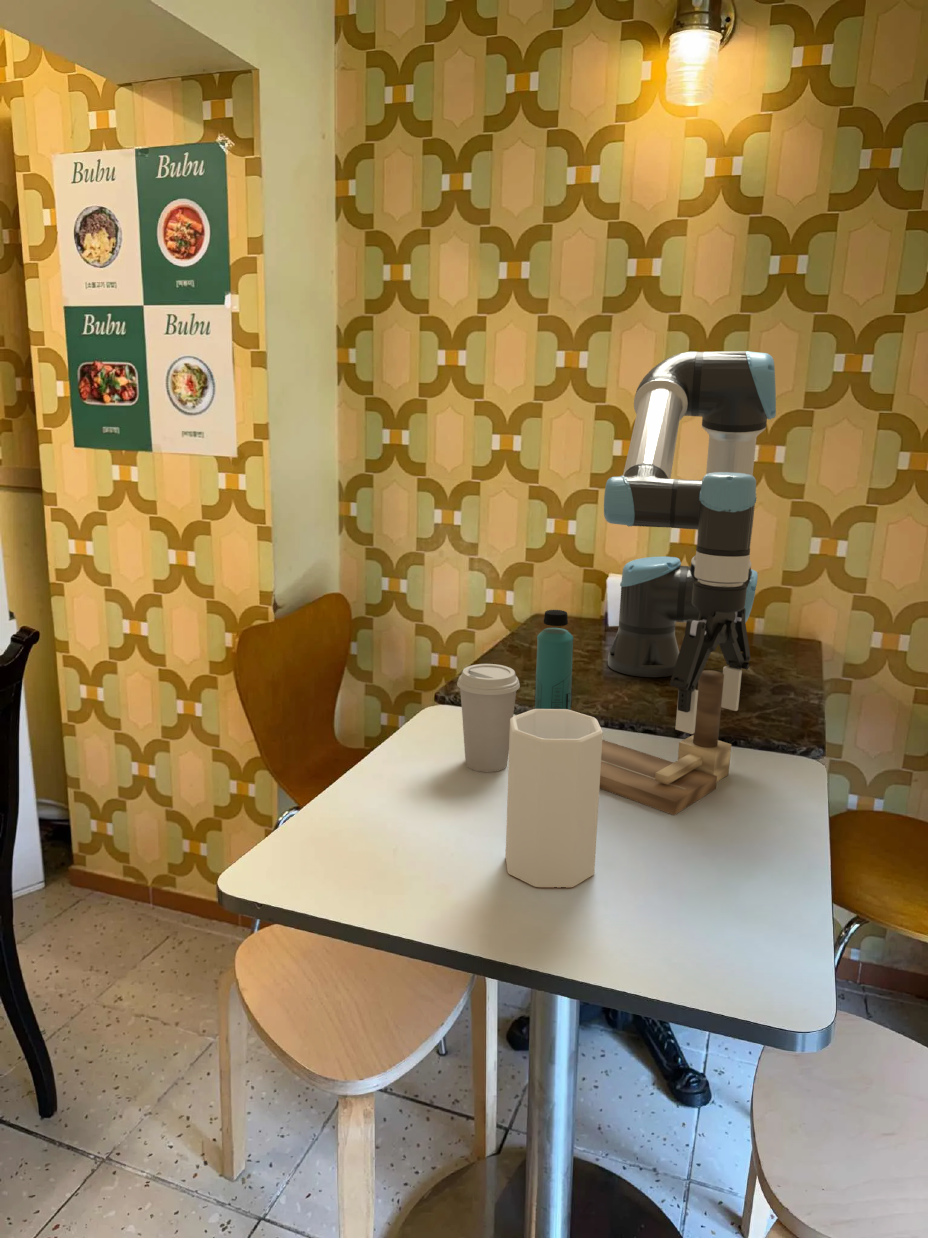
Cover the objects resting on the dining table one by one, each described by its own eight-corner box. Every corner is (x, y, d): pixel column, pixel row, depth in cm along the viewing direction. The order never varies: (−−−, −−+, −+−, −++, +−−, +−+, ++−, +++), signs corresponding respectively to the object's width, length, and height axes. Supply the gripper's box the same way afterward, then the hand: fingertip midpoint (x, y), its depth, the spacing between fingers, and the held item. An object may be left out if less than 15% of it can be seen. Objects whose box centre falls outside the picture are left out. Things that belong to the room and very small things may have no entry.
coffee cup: (446, 756, 142) (447, 665, 139) (500, 748, 146) (503, 659, 142) (470, 780, 134) (472, 684, 130) (527, 771, 138) (531, 677, 134)
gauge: (692, 763, 141) (701, 666, 138) (728, 774, 138) (738, 674, 134) (641, 793, 131) (649, 688, 127) (678, 806, 127) (687, 698, 123)
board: (572, 741, 150) (572, 729, 149) (715, 788, 133) (717, 775, 132) (526, 761, 141) (527, 749, 140) (674, 815, 124) (675, 801, 123)
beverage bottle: (569, 729, 155) (574, 616, 150) (530, 726, 156) (535, 614, 151) (572, 717, 161) (577, 608, 156) (535, 713, 162) (539, 605, 157)
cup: (529, 898, 103) (535, 747, 98) (488, 853, 113) (492, 714, 108) (612, 879, 107) (622, 733, 103) (566, 837, 117) (572, 703, 113)
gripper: (735, 566, 142) (723, 694, 147) (651, 589, 124) (641, 734, 129) (781, 573, 137) (767, 705, 142) (701, 598, 119) (688, 748, 124)
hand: (707, 719), depth 136 cm, fingers open, 13 cm apart
